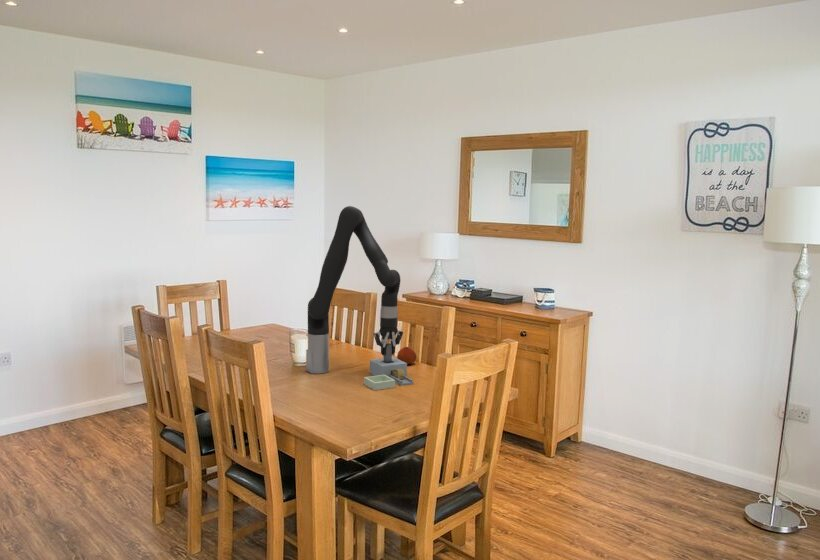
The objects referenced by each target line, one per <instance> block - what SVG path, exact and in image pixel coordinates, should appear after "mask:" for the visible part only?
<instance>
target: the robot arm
mask: <svg viewBox="0 0 820 560" xmlns="http://www.w3.org/2000/svg"><path fill="white" fill-rule="evenodd" d="M353 233H354V234H355V236H356V238H358V241H359V243H360V244H361V247H362V249H363V252H364V254H365V256H366V257H367V259H368V261H369V262H370V264H371V265H372V268H373V270H374V272H375V275H376V277H377V279H378V281H379V283H380V284H381V285H382V286H383V287H384V291H383V292H382V293H381V299H380V300H381V304H380V310H379V311H380V312H379V315H380V316H379V319H380V320H379V327H380V328H379V330H378V331H377V332H373V337H374V339H375V343H376V345H377V346H379V347H380V354H381V355H382V356H383V357H384V356H385V353H386V347H385V345H386V343H388V340H389V343H392V356H394V355H395V354H396V346H397V345H400V343H401V341H402V338H403V335H404V331H401V330H398V316H399V315H398V314H399V313H398V311H399V310H398V309H399V308H398V301H399V300H398V295H399V291H400V287H401V275H400V273H399V272H398V270H396V269H391V268H390V267H389V264H388V262H389V260H388V258H387V256H386V254H385V252H384V251H383V249H382V248H381V246H380V245H379V243H378V242H377V241H376V238H375V237H374V235H373V234H372V232H371V230H370V228H369V226H368V223H367V220H366V219H365V216H364V214H363V212H362V210H360V209H359V208H357V207H355V206H352V205H348V206H345V207H344V208H342V210H340V213H339V216H338V219H337V224H336V229H335V232H334V235H333V238H332V240H331V243H330V245H329V248H328V251H327V252H326V255H325V257H324V261H323V264H322V267H321V271H320V275H319V281H318V286H317V288H316V291H315V293H314V295H313V297H311V299H310V300H309V301H308V302H307V349H306V350H305V355H306V356H305V362H306V363H305V368H306V369H305V371H307V372H308V373H310V374H317V375H318V374H325V373H328V372H329V369H330V362H329V361H330V357H329V356H330V349H329V348H330V321H329V319H330V318H329V315H330V314H329V313H330V309H331V303H332V300H333V297H334V293H335V290H336V288H337V286H338V284H339V282H340V279H341V277H342V274H344V273H343V272H344V270H345V267H346V265H347V262H348V257H349V251H350V250H349V248H350V241H351V239H352V235H353ZM380 337H381V338H380Z"/></svg>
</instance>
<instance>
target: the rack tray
mask: <svg viewBox="0 0 820 560" xmlns="http://www.w3.org/2000/svg"><path fill="white" fill-rule="evenodd" d="M363 385H364V386H366V387H368V388H369V389H371V390H372V391H380V390H386V389H393V388H396V383H395V380H394V379H392V378H390V377H388V376H386V375H377V376H374V375H371V376H364V377H363Z"/></svg>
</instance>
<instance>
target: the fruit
mask: <svg viewBox="0 0 820 560" xmlns="http://www.w3.org/2000/svg"><path fill="white" fill-rule="evenodd" d="M396 356H397V357H396V358H397V359H399V360H401V361H403V362H405V363H407V365H410V364H413V363H414V362H416V360H417V353H416V352H415V351H414V350H413V349H412V348H410V347H408V346H405V347H403V348H401V349H400V350H398V352H397V355H396Z"/></svg>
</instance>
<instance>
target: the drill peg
mask: <svg viewBox="0 0 820 560" xmlns="http://www.w3.org/2000/svg"><path fill="white" fill-rule="evenodd" d="M385 347H386V353H385V356H383V358H384V363H392V357H393V355H392V343H390V342H386V345H385Z"/></svg>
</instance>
